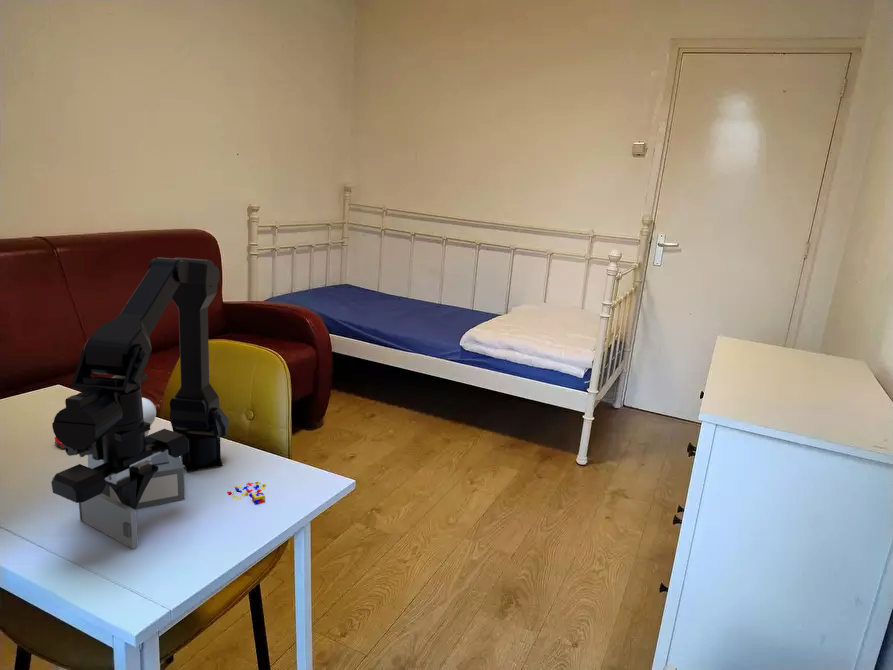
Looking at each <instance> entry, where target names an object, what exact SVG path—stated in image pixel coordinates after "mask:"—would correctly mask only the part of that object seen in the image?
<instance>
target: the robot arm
mask: <svg viewBox="0 0 893 670" xmlns="http://www.w3.org/2000/svg"><path fill="white" fill-rule="evenodd" d="M147 267H148V268H147V272H146V273H145V275H144V276H143V278H142V279H141V281H140V283H139V284H138V286H137V287H136V289H135V290H134V292H133V293H132V295H131V297H130V298H129V299H128V301H127V302H126V304H125V305H124V307H123V308H122V310H121V311H120V314H119V315H117V317H115V318H114V319H112V320H109V321H107V322H105V323H104V324H102V325H100V326H99V327H98V328H97V329H96V331H95V332H93V334H91V336H89V338H88V339H87V341H86V342H85V344H84V345H83V347H82V351H81V354H80V357H79V361H78V362H77V363H78V364H77V365H76V368H75V372H74V375H73V378H72V380H71V385H70V388H71V389H72V390H81V391H80V392H79V393H77V394H74V395H70V396H69V397H66V398H65V402H64V403H65V407H64V408H62V409H61V410H59V411H58V412H57V413H56V414H55V416H54V419H53V422H52V430H53V434H54V435H55V437H57V439H58V440H59V441H60V442H61V443H63V444H64V448H63V449H64V450H65V453H66V455H67V456H70V457H71V456H78V455H79V457H80V458H84V457H85V456H88V455H91V454H92V458H93V459H95V460H97V461H98V460H103V463H104V464H102V465H100V466H97V467H95V468H93V469H91V468H89V467H88V466H86V465H84V464H81V463H79V464H76V465H74V466H71V467H69V468H67V469H64V470H61V471H58V472H57V473H56V474H55V475H54V476H53V477H52V479H51V488H52V493H53V494H55V495H57V496H60V497H62V498H64V499H67V500H69V501H71V502H74V503H76V504H79V503H80V502H85V501H87V500H89V499H91V498H93V497H95V496H97V495H99V494H101V493H102V491H103V490H104V488H105V487H106V485H108V486H110V487H111V488H112V489H113V490H114V492H115V493H116V495H117V496H118V498H119V500H120V501H121V503H122V504H124V505H126V506H128V507H130V508H132V509H134V510H137V509H136V507H137V505H138V503H139V501H140V499H141V497H142V495H143V493H144V491H145V489H146V487H147V485H148V483H149V481H150V480H151V478H152V476H153V474H154V473H155V472H157V471H158V467H157V466H155V465H152V461H151V457H153V456H155V455H158V454H160V453H162V452H164V451H165V450H167V449H168V455H170V456H172V457H174V458H177V457H180V460H181V463H182V465H183V466H184V467H185V471H186V472H194V471H199V470H206V469H207V470H209V469H212V468H219V467H223V465H224V462H223V460H222V456H221V454H222V452H221V451H222V450H221V437H225V436H227V435H228V430H229V422H230V421H229V420H230V419H229V417H227V415H226V414H225V413H224V411H223V410H222V409H221V406H220V397H219V395H218V394H217V391H215V389H214V388H213V387H212V385H211V384H210V357H209V356H210V355H209V351H210V349H209V306H210V304H211V303H212V302H213V300H214V298H215V297H216V295H217V293H218V285H219V283H220V270H219V268H218V267H217V265H215V264H214V262H213V261H212V260H211V259H205V258H204V259H202V258H191V257H190V258H189V257H174V258H170V257H156V258H152V259H151V260H150V261H149V264H148V266H147ZM171 300H172V302H173V303H174V304H175V306H176V307H177V309H178V331H179V334H178V335H179V365H180V369H179V370H180V388H179V389H178V391H177V392H176V394H175V395H174V396H173V397H172V398H171V399H170V400H169V409H170V412H169V421H170V425H171V428H172V430H169V429H166V428H161V430H158V431H154V432H151V433H150V434H148V435H147V436H146V437H145V432H146V431H148V430H149V431H150V430H151V426H150V423H147V422H144V418H143V406H142V398H143V395H142V394H143V393H142V384H141V383H143V382H145V381H146V380H147V379H148V375H147V373H145V372H144V370H146V369H145V368H146V367H147V365H148V362H149V361H150V358H149V357H150V355H151V353H152V350H153V349H152V344H151V343H152V342H151V340H150V338H151V335H152V332H153V331H154V329H155V327H156V325H157V324H158V322H159V320H160V319H161V317H162V315H163V313H164V312H165V310H166V309H167V306H168V305H169V304H170V302H171ZM92 373H93V374H96V375H106V376H107V375H109V376H112V377H104V376H103V377H102V376H92Z"/></svg>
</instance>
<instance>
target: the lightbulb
mask: <svg viewBox="0 0 893 670" xmlns="http://www.w3.org/2000/svg"><path fill="white" fill-rule="evenodd" d="M142 406H143V418H144V422H147V423H150V427H152V424H154V422H155V419H156V417H157V408H156V406H155V403H153V401H151V400H150V399H148V398H146V397H142ZM149 433H150V430H148V431H146V432H145V437H146V436H148V435H149Z"/></svg>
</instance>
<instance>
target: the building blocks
mask: <svg viewBox="0 0 893 670" xmlns="http://www.w3.org/2000/svg"><path fill="white" fill-rule="evenodd" d="M254 484H255V485H254ZM260 484H262V486H260ZM245 485H246V486H244V487H243V486H242V485H238V486H237V485H234V488H235V491H236V493H237V492H238V493H239V494H241V496H237V495H234V494H235V493H234V492H232V491H227V492H226V493H227V494H228V495H229V496H232V498H233V499H234V500H236V499H237V500H239V499H240V500H241V499H243V497H246V496H248V497H250V499H251V501H252V502H253V504H254V505H255V506H257V505H260V504H264V503H265V504H266V495H265V494H264V493H263V491H264V490H265V489H266V488H265V487H266V483H261V482H259V480H255V482H247V484H245ZM253 485H254V486H253ZM249 487H253V489H248V488H249ZM259 488H261V489H259ZM240 489H242V490H240ZM245 489H246V491H245V492H244V493H243V491H244V490H245ZM254 490H256V491H255V492H254V493H253V491H254ZM232 493H233V494H232ZM231 494H232V495H231ZM233 495H234V496H233ZM235 497H236V499H235Z"/></svg>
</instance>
